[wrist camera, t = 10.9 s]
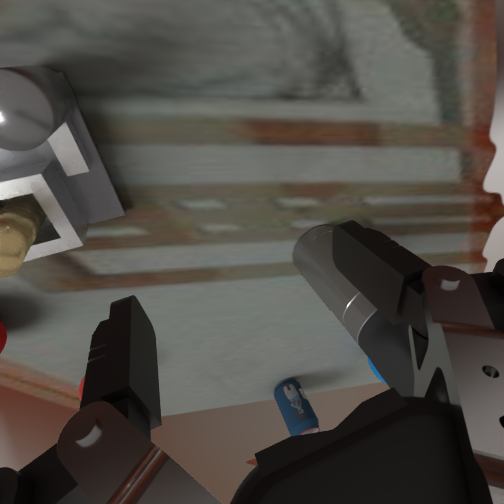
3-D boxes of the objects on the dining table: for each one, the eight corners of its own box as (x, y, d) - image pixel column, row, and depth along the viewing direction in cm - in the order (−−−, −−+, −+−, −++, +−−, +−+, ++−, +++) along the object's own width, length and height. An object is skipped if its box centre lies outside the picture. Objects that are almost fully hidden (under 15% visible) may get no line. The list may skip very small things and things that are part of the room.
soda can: (281, 396, 72) (303, 446, 63) (266, 390, 68) (288, 443, 59) (301, 380, 71) (327, 429, 62) (288, 373, 67) (313, 424, 58)
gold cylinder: (39, 186, 28) (3, 236, 20) (56, 214, 30) (30, 270, 22) (3, 194, 27) (-48, 249, 19) (23, 223, 29) (-16, 283, 21)
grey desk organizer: (128, 212, 33) (126, 266, 25) (15, 241, 31) (-31, 312, 22) (62, 61, 24) (23, 62, 16) (-105, 85, 22) (-261, 102, 13)
